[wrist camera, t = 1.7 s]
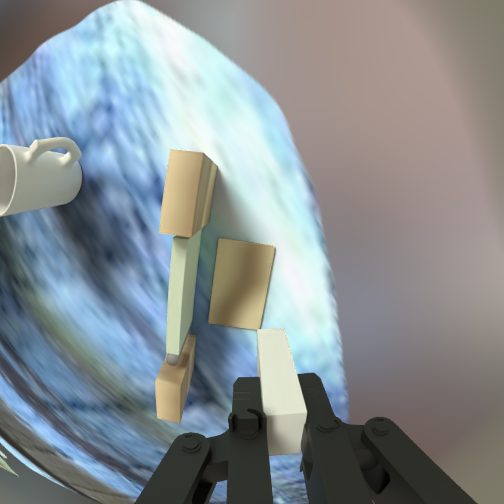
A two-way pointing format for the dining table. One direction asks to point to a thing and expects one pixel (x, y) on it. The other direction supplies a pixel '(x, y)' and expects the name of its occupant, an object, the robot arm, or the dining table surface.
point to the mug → (38, 175)
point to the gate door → (181, 293)
